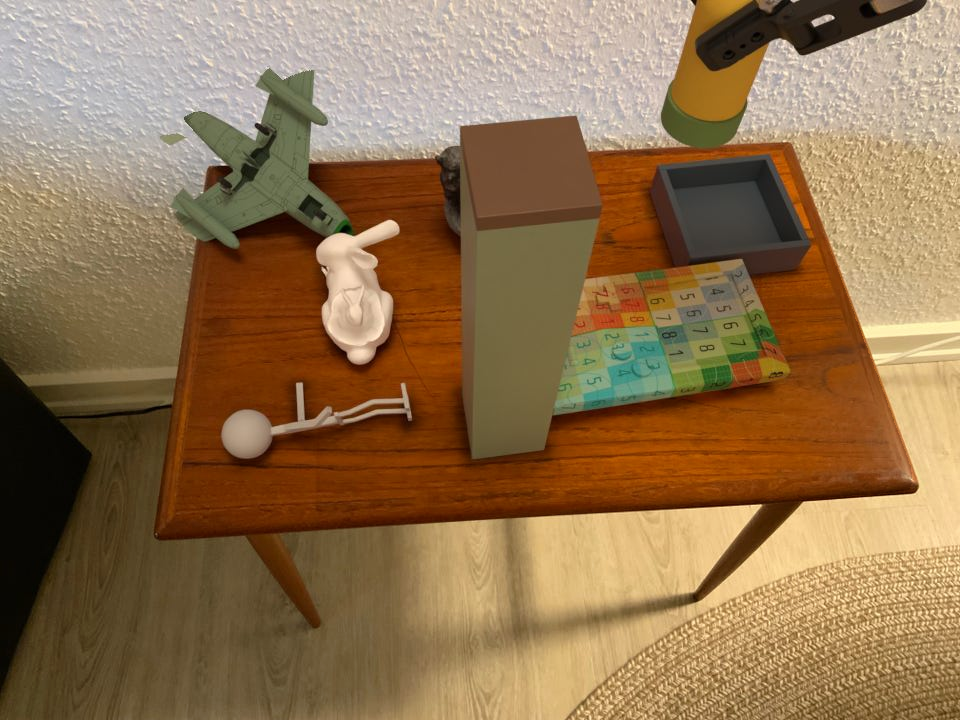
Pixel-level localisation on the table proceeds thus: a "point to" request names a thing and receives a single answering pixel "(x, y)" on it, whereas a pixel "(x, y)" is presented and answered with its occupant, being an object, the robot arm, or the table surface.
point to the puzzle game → (667, 337)
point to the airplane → (261, 168)
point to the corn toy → (708, 85)
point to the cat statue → (451, 185)
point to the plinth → (521, 273)
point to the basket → (729, 214)
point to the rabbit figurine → (356, 292)
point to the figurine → (292, 424)
